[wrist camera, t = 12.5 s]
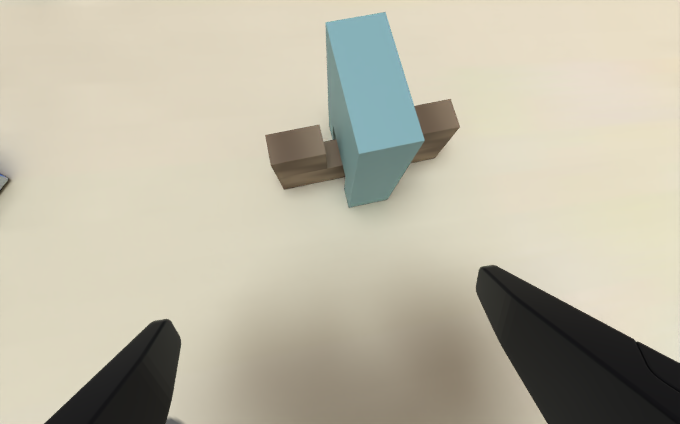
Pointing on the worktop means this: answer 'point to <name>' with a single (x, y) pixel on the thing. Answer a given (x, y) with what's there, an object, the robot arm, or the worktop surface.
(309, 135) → the brown stepped bar
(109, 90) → the worktop surface
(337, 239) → the worktop surface
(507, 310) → the robot arm
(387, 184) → the teal plate
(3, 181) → the medicine box
